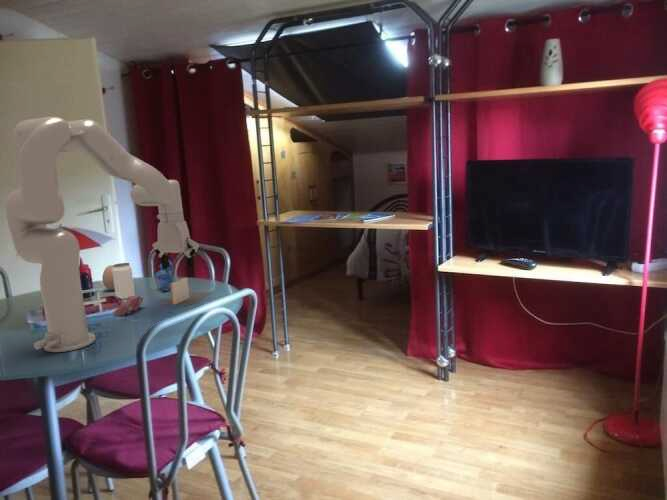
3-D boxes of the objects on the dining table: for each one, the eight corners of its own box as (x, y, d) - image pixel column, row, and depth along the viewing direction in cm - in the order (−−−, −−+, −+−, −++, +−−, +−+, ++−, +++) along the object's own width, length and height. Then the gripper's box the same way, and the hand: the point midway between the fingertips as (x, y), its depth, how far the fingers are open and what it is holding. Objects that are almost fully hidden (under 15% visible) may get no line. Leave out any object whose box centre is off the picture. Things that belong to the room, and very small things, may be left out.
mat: (189, 306, 170) (189, 305, 170) (158, 305, 174) (158, 303, 174) (215, 293, 185) (214, 292, 185) (185, 292, 189) (185, 291, 189)
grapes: (161, 286, 199) (158, 256, 197) (179, 285, 199) (175, 255, 197) (151, 295, 188) (147, 262, 186) (170, 294, 188) (166, 261, 186)
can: (126, 299, 183) (122, 266, 181) (111, 299, 185) (107, 266, 183) (138, 294, 189) (134, 262, 187) (124, 294, 191) (120, 262, 189)
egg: (101, 290, 199) (98, 266, 197) (119, 286, 203) (116, 262, 201) (107, 293, 194) (104, 268, 192) (126, 289, 198) (122, 264, 196)
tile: (175, 304, 172) (173, 284, 170) (172, 304, 172) (169, 283, 171) (189, 297, 179) (187, 278, 178) (185, 297, 179) (183, 278, 178)
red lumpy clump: (123, 323, 162) (130, 304, 160) (111, 316, 162) (117, 297, 161) (141, 313, 171) (147, 295, 170) (129, 307, 172) (135, 289, 170)
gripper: (142, 220, 170) (149, 270, 173) (188, 219, 164) (194, 271, 168) (156, 216, 177) (163, 265, 180) (200, 215, 171) (206, 265, 175)
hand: (178, 268), depth 174 cm, fingers open, 9 cm apart
